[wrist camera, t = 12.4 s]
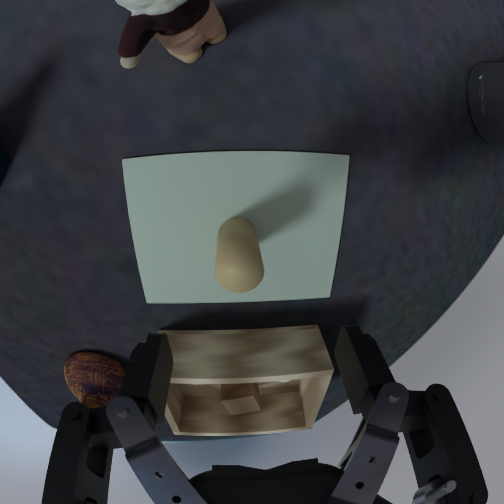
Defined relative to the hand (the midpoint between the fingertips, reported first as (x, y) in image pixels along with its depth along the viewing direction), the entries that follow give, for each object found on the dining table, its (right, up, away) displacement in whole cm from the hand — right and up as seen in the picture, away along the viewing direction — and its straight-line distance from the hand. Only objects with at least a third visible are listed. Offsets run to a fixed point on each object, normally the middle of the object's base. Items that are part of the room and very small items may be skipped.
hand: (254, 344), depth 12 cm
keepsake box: (-2, -9, +17) cm, 19 cm away
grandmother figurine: (-4, +19, +3) cm, 20 cm away
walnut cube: (-2, -11, +18) cm, 21 cm away
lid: (-1, +6, +10) cm, 12 cm away
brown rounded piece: (-20, -12, +18) cm, 29 cm away
